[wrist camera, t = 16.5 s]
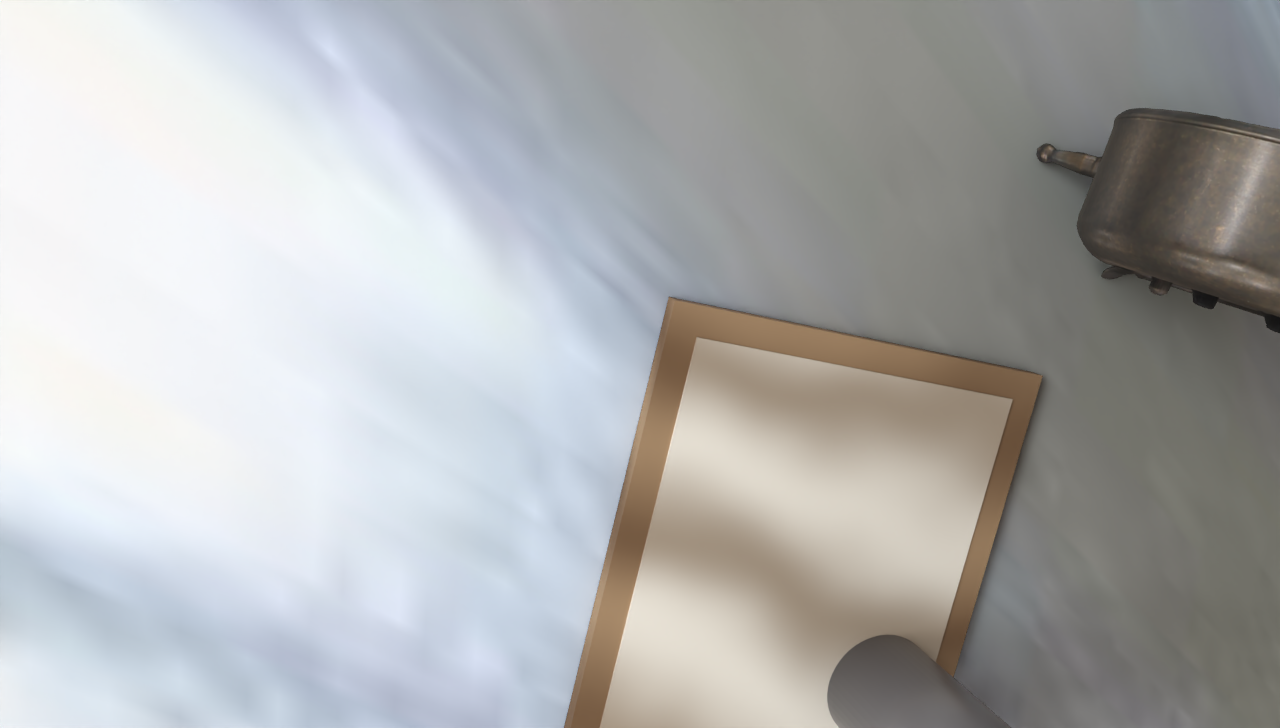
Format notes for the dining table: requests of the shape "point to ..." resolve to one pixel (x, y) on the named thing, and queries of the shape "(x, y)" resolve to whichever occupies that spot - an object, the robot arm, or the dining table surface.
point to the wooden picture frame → (792, 519)
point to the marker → (901, 690)
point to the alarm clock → (1186, 206)
